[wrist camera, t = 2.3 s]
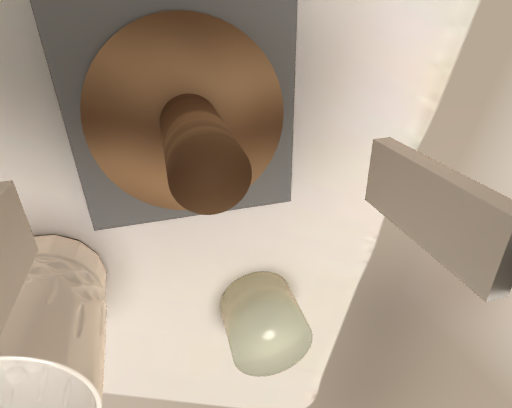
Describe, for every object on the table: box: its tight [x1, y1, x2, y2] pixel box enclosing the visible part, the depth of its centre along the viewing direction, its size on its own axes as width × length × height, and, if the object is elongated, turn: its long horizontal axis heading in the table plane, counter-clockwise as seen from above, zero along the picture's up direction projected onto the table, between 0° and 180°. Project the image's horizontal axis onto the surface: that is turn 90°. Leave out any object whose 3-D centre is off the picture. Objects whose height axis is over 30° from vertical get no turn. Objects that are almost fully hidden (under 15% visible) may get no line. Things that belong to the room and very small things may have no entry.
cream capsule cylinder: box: [220, 272, 312, 376], centre depth 28 cm, size 6×6×5 cm
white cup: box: [0, 235, 107, 408], centre depth 20 cm, size 8×8×10 cm
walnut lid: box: [80, 10, 284, 215], centre depth 17 cm, size 11×11×8 cm
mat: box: [30, 0, 297, 231], centre depth 21 cm, size 13×13×1 cm
